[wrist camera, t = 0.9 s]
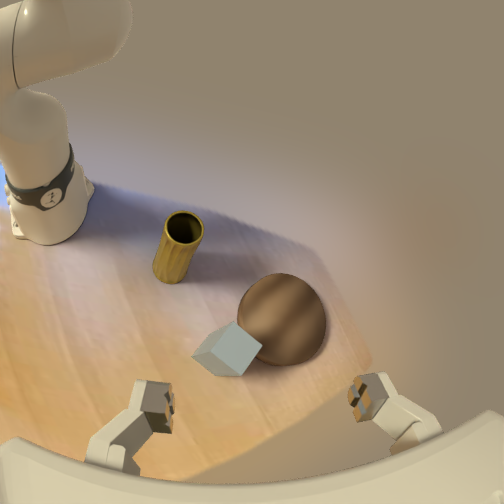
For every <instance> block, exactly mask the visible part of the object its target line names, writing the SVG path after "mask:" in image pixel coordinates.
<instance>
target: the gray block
mask: <svg viewBox="0 0 504 504" xmlns="http://www.w3.org/2000/svg"><path fill="white" fill-rule="evenodd" d="M262 346H263V345H261V344H260V343H259V342H258V341H256V340H255V339H254V338H253V337H252V336H250V335H249V334H248V333H247V332H246V331H244V330H243V329H242V328H241V327H240V326H238V325H237V324H236V323H235V322H234V321H233V322H231V323H229V324H228V325H226V326H224V327H222V328H220V329H218V330H217V331H215V332H213V333H211V334H209V335H208V337H207V338H206V339H205V340H204V342H203V343H202V344H201V345H200V347H199V348H198V349H197V350H196V351H195V353H194V354H193V355H192V356H191V357H192V358H193V359H195V360H196V361H197V362H198V363H200V364H201V365H202V366H203V367H205V368H206V369H207V370H208V371H210V372H211V373H212V374H214V375H215V376H242V374H243V373H244V371H245V370H246V369H247V367H248V366H249V364H250V363H251V361H252V360H253V359H254V357H255V356H256V354H257V353H258V351H259V350H260V349H261V347H262Z"/></svg>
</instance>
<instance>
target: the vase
mask: <svg viewBox="0 0 504 504" xmlns="http://www.w3.org/2000/svg"><path fill="white" fill-rule="evenodd" d="M203 234H204V225H203V222H202V221H201V219H200V218H199V217H198V216H197V215H195V214H194V213H192V212H189V211H177V212H174V213H172V214H171V215H170V216H169V217H168V218H167V219H166V221H165V225H164V229H163V233H162V236H161V240H160V243H159V247H158V250H157V253H156V256H155V259H154V261H153V272H154V274H155V276H156V277H157V278H158V279H159V280H160V281H162V282H164V283H168V284H174V283H178V282H179V281H181V280H182V279H183V278H184V277H185V275H186V273H187V269H188V266H189V264H190V261H191V258H192V257H193V255H194V253H195V251H196V249H197V247H198V245H199V244H200V242H201V240H202V238H203Z"/></svg>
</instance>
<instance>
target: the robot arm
mask: <svg viewBox="0 0 504 504" xmlns="http://www.w3.org/2000/svg"><path fill="white" fill-rule="evenodd" d="M132 21H133V11H132V6H131V3H130V1H129V0H24V1H21V2H18V3H15V4H12V5H9V6H7V7H4V8H1V9H0V161H1V163H2V166H3V168H4V170H5V177H6V181H7V184H5V192H6V195H7V196H9V197H8V198H7V202H8V205H10V212H11V222H12V230H13V234H14V236H15V237H16V238H18V239H29V240H31V241H33V242H35V243H38V244H42V245H52V244H56V243H59V242H62V241H64V240H66V239H67V238H69V237H70V236H71V235H73V234H74V233H75V232H76V231H77V230H78V228H79V227H80V226H81V224H82V222H83V220H84V218H85V215H86V212H87V205H88V201H89V200H90V198H91V197H92V195H93V193H94V186H93V184H92V183H91V182H90V181H89V180H88V179H87V178H86V177H85V176H84V171H83V167H82V166H80V165H79V164H78V163H77V162H76V161H75V160H74V154H73V150H72V147H71V144H70V143H69V139H68V130H67V117H66V112H65V109H64V107H63V106H62V104H61V103H60V102H59V101H58V100H57V99H55V98H54V97H52V96H51V95H48V94H44V93H40V92H35V91H32V90H29V89H28V88H26V86H29V85H33V84H36V83H39V82H42V81H46V80H50V79H54V78H57V77H62V76H66V75H70V74H74V73H77V72H79V71H82V70H84V69H87V68H90V67H93V66H95V65H98V64H101V63H104V62H107V61H110V60H111V59H112V58H113V57H114V56H115V55H116V54H117V53H118V52H119V50H120V49H121V48H122V46H123V45H124V43H125V42H126V40H127V38H128V36H129V33H130V30H131V27H132ZM17 225H18V227H17ZM353 382H354V384H353V385H352V386H351V387H350V388H349V391H348V401H349V403H350V405H351V406H353V407H354V410H353V414H354V416H355V419H356V421H357V422H363V421H367V420H372V419H373V420H372V421H374V422H375V423H376V424H377V425H378V426H379V427H381V428H382V429H383V430H384V431H385V432H386V433H387V434H389V435H390V436H391V437H392V438H393V439H395V440H396V442H395V443H394V444H393V445H392V446H391V448H390V452H391V454H392V456H389V457H386V458H383V459H380V460H377V461H374V462H370V463H367V464H363V465H360V466H357V467H352V468H348V469H344V470H340V471H336V472H331V473H327V474H322V475H316V476H311V477H305V478H298V479H291V480H282V481H274V482H273V481H272V482H260V483H239V484H215V483H214V484H213V483H191V482H181V481H171V480H163V479H156V478H149V477H143V476H140V467H139V466H138V465H137V464H136V462H135V461H134V460H133V459H132V457H133V456H134V455H135V453H136V452H137V451H138V450H139V449H140V448H141V447H142V445H143V444H144V443H145V442H146V441H147V440H148V439H149V437H150V436H151V435H152V434H153V432H157V433H168V434H172V429H173V419H172V415H173V414H174V411H175V398H174V394H173V393H172V385H171V383H163V382H155V381H148V380H139V379H137V380H136V381H135V383H134V387H133V391H132V395H131V399H130V403H129V407H128V409H124V410H123V411H122V412H120V413H119V414H118V415H117V416H116V417H115V418H113V419H112V420H111V421H110V422H109V423H108V424H106V425H105V426H104V427H103V428H102V429H100V430H99V431H98V432H97V433H96V434H94V435H93V436H92V437H91V438H90V442H89V445H88V449H87V453H86V457H85V461H84V462H82V461H78V460H75V459H72V458H70V457H67V456H64V455H61V454H59V453H56V452H53V451H51V450H48V449H46V448H44V447H41V446H39V445H37V444H35V443H32V442H30V441H28V440H26V439H24V438H21V437H14V438H12V439H10V440H8V441H6V442H4V443H3V444H1V445H0V504H504V417H503V416H501V415H500V414H498V413H496V412H494V411H492V410H485V411H483V412H481V413H480V414H478V415H477V416H475V417H473V418H471V419H470V420H468V421H466V422H464V423H463V424H461V425H459V426H457V427H455V428H453V429H451V430H450V431H448V432H446V433H444V432H443V430H442V428H441V426H440V425H439V423H438V421H437V419H436V417H435V416H434V415H433V414H432V413H430V412H428V411H427V410H425V409H423V408H422V407H420V406H419V405H416V404H415V403H414V402H412V401H410V400H409V399H407V398H406V397H404V396H402V395H398V393H397V391H396V389H395V387H394V385H393V384H392V382H391V380H390V378H389V376H388V375H387V373H386V372H385V371H382V372H378V373H371V374H366V375H360V376H357V377H355V379H354V380H353Z"/></svg>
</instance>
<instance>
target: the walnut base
mask: <svg viewBox="0 0 504 504" xmlns="http://www.w3.org/2000/svg"><path fill="white" fill-rule="evenodd" d="M237 322H238V326H240V327H241V328H242V329H243V330H244V331H246V332H247V333H248V334H249V335H250V336H252V337H253V338H254V339H255V340H256V341H258V342H259V343H260V344H261V345H263V346H262V347H261V349H260V350H259V351H258V353H257V354H256V356H255V357H257V358H258V359H259V360H261V361H263V362H265V363H267V364H270V365H275V366H287V365H295V364H299V363H302V362H304V361H306V360H308V359H309V358H311V357H312V356H313V355H314V354H315V353H316V352H317V350H318V349H319V348H320V346H321V344H322V342H323V339H324V335H325V330H326V318H325V312H324V309H323V306H322V303H321V301H320V299H319V297H318V296H317V294H316V293H315V291H314V290H313V289H312V288H311V287H310V286H309V285H308V284H307V283H306V282H304V281H303V280H301V279H299V278H298V277H295V276H293V275H289V274H283V273H279V274H271V275H269V276H266V277H264V278H262V279H261V280H259V281H258V282H257V283H255V284H254V285H253V286H251V287H250V288H249V289H248V290H247V292H246V293H245V294H244V296H243V298H242V299H241V302H240V304H239V308H238V315H237Z"/></svg>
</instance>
